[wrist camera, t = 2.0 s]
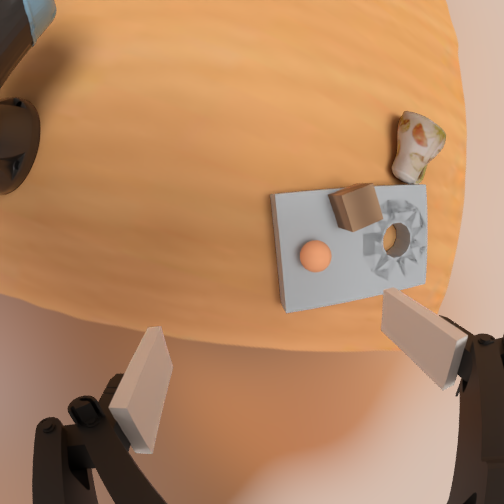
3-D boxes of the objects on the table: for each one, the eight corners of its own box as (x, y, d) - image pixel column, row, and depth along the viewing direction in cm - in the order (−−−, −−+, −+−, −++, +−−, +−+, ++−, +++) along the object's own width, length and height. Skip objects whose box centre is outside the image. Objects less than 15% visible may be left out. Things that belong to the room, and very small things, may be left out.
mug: (373, 177, 34) (408, 131, 25) (384, 134, 38) (411, 91, 28) (417, 202, 34) (458, 165, 24) (422, 157, 37) (455, 119, 27)
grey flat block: (280, 302, 37) (286, 313, 33) (269, 194, 33) (274, 194, 30) (412, 276, 38) (425, 283, 35) (411, 184, 35) (425, 184, 31)
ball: (297, 269, 32) (305, 278, 29) (295, 239, 31) (303, 245, 28) (325, 265, 32) (336, 273, 29) (324, 235, 32) (335, 241, 28)
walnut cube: (338, 227, 32) (352, 232, 28) (327, 194, 31) (341, 195, 27) (366, 215, 32) (383, 219, 28) (356, 183, 31) (373, 183, 27)
